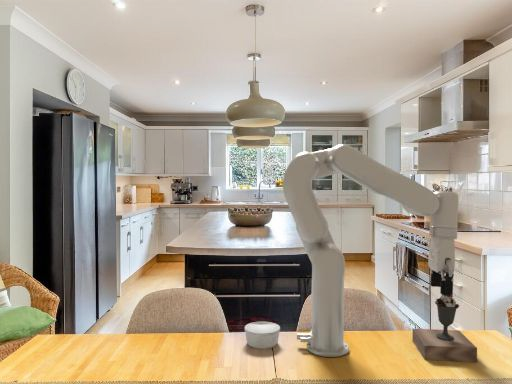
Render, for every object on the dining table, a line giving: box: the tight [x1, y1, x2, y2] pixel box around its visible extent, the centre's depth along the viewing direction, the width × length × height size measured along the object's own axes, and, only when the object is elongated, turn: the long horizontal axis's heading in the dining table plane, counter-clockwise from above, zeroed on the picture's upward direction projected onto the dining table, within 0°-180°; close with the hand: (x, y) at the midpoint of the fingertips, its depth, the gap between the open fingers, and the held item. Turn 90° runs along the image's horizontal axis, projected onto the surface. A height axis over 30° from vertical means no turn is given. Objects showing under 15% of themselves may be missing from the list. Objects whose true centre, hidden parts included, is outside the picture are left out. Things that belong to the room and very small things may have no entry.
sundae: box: [434, 294, 460, 340], centre depth 122 cm, size 7×7×15 cm
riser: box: [411, 328, 478, 363], centre depth 123 cm, size 14×14×4 cm
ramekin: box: [244, 321, 281, 350], centre depth 129 cm, size 11×11×5 cm
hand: (441, 290), depth 123 cm, fingers open, 9 cm apart
